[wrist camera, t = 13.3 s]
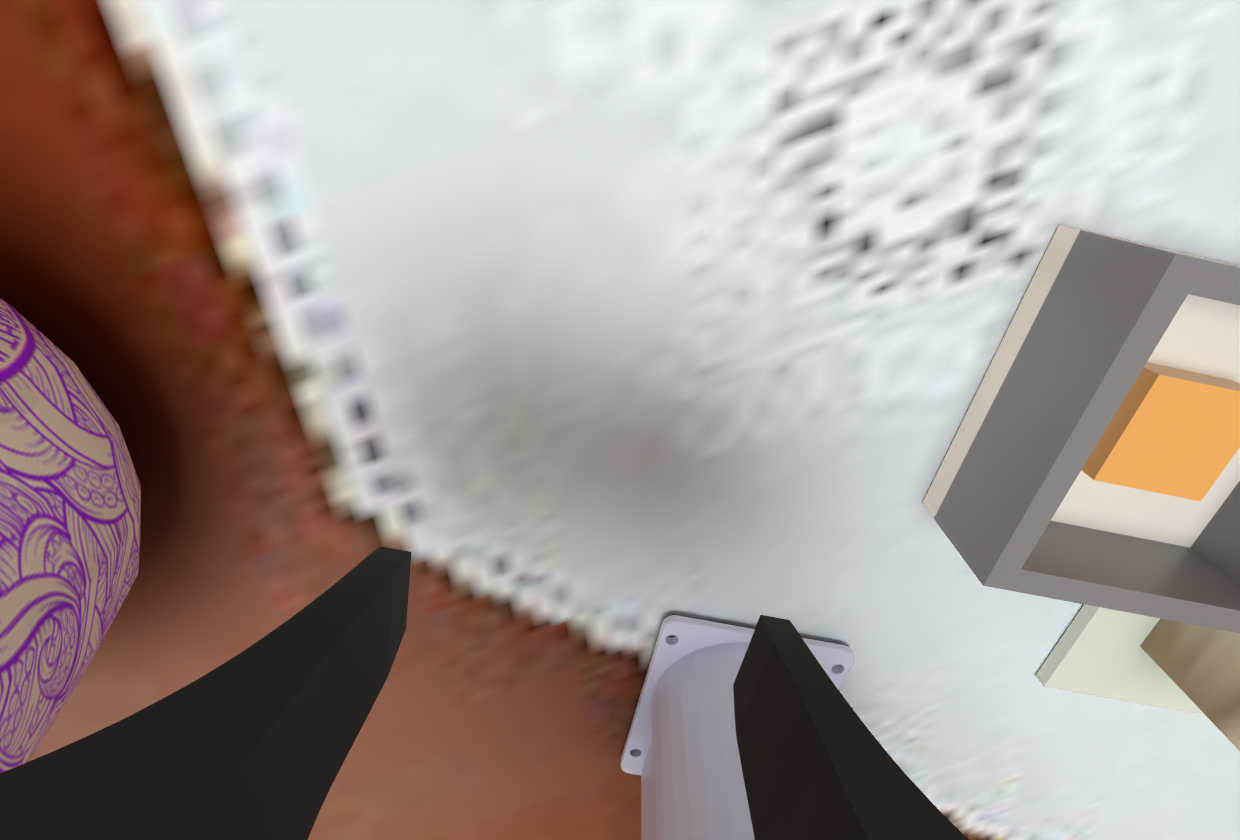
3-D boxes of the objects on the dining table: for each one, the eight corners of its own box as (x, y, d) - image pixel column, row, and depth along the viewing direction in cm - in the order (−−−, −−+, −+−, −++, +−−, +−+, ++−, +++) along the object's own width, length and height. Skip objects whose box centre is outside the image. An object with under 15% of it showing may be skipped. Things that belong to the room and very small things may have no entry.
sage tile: (1211, 706, 27) (1223, 718, 26) (1035, 675, 26) (1043, 686, 26) (1340, 559, 23) (1357, 570, 23) (1141, 520, 23) (1153, 530, 22)
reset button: (1166, 478, 21) (1200, 501, 20) (1066, 458, 21) (1093, 480, 19) (1232, 381, 19) (1274, 398, 18) (1125, 358, 19) (1159, 374, 18)
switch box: (1175, 552, 23) (1288, 642, 19) (922, 502, 23) (983, 585, 19) (1365, 293, 19) (1560, 339, 15) (1058, 224, 18) (1176, 253, 14)
